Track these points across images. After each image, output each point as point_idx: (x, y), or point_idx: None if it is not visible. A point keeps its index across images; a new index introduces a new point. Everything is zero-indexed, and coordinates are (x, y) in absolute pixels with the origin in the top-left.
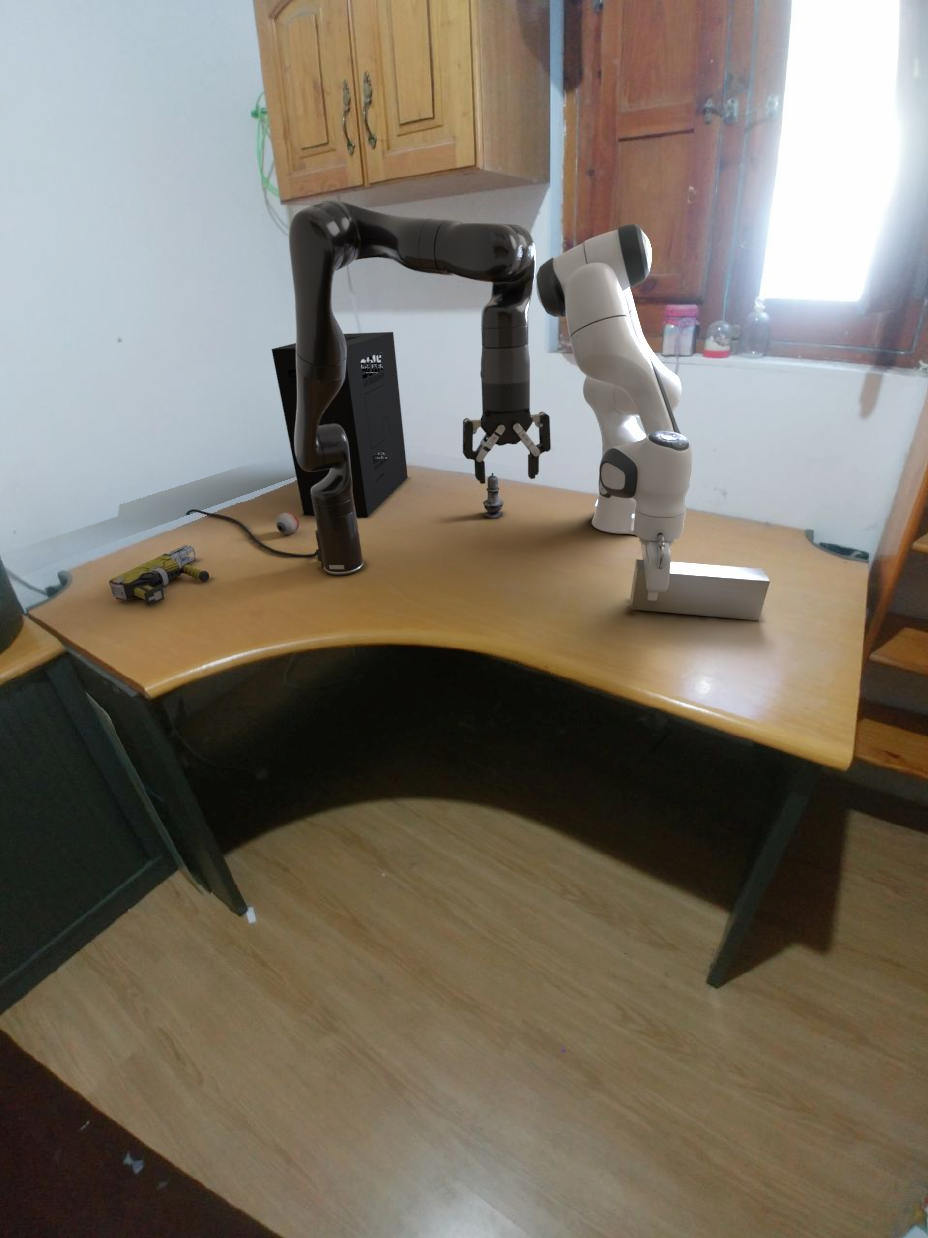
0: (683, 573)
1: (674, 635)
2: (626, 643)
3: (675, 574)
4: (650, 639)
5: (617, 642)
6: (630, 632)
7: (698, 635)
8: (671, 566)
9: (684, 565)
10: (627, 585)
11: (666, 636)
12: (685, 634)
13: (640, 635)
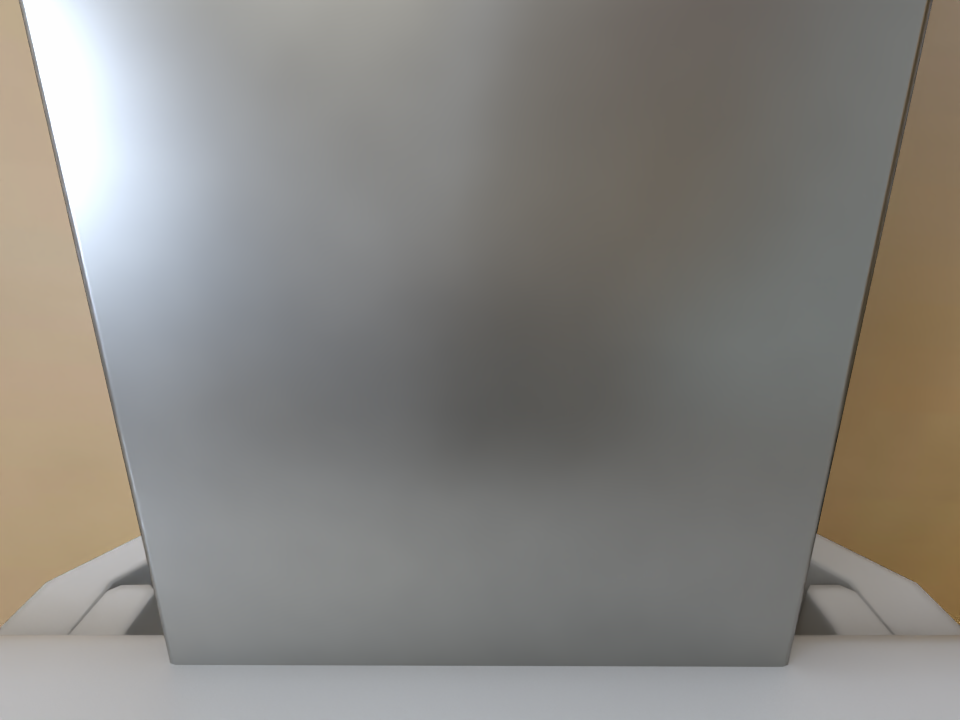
0: (836, 243)
1: (907, 233)
2: (956, 546)
3: (821, 434)
4: (934, 408)
5: (934, 590)
6: (822, 521)
7: (941, 16)
8: (422, 504)
9: (249, 145)
10: (122, 518)
11: (912, 296)
12: (905, 138)
13: (870, 466)
